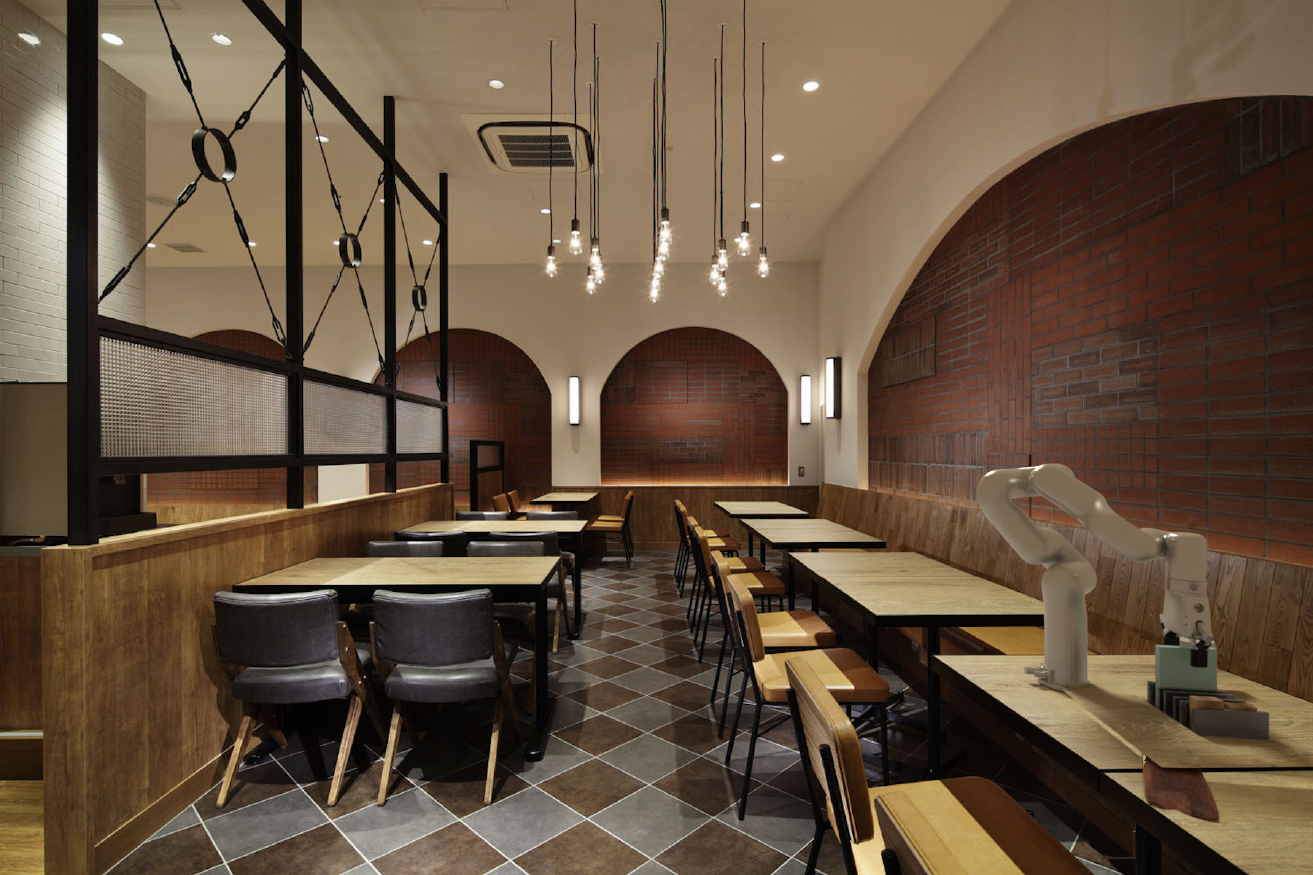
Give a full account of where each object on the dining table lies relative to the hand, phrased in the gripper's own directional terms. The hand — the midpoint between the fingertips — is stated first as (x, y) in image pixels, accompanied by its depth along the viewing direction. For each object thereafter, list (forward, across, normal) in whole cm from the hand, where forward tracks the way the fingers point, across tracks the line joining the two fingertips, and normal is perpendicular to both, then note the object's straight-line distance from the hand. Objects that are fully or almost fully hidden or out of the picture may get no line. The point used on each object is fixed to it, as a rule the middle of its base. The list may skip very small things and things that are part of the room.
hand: (1184, 659), depth 153 cm
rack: (+12, -6, 0) cm, 14 cm away
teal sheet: (+11, 0, 0) cm, 11 cm away
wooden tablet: (+13, -35, +22) cm, 43 cm away
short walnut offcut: (+11, -12, -4) cm, 17 cm away
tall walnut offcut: (+11, -12, +3) cm, 17 cm away
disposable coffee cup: (+13, +21, -14) cm, 28 cm away
